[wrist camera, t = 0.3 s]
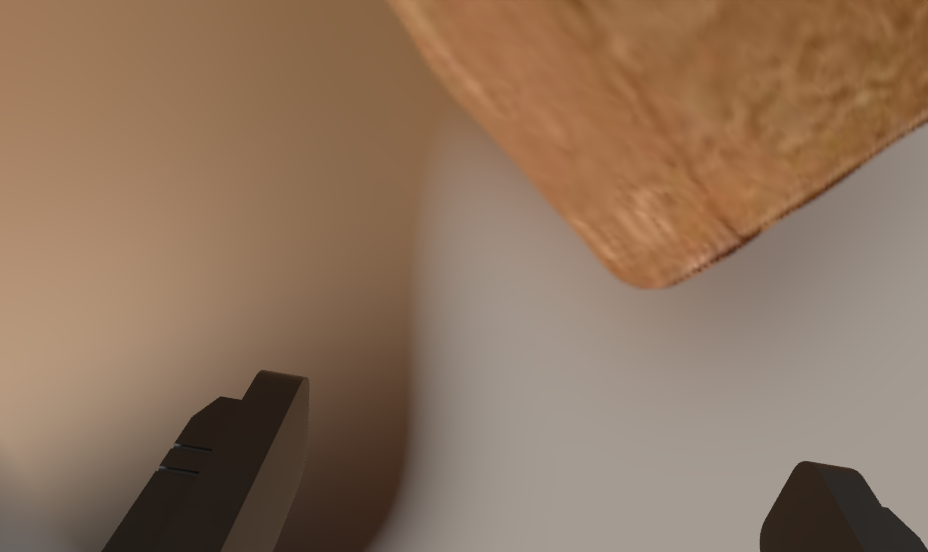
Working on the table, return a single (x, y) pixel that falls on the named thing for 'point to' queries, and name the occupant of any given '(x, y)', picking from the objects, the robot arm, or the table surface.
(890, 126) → the table surface
